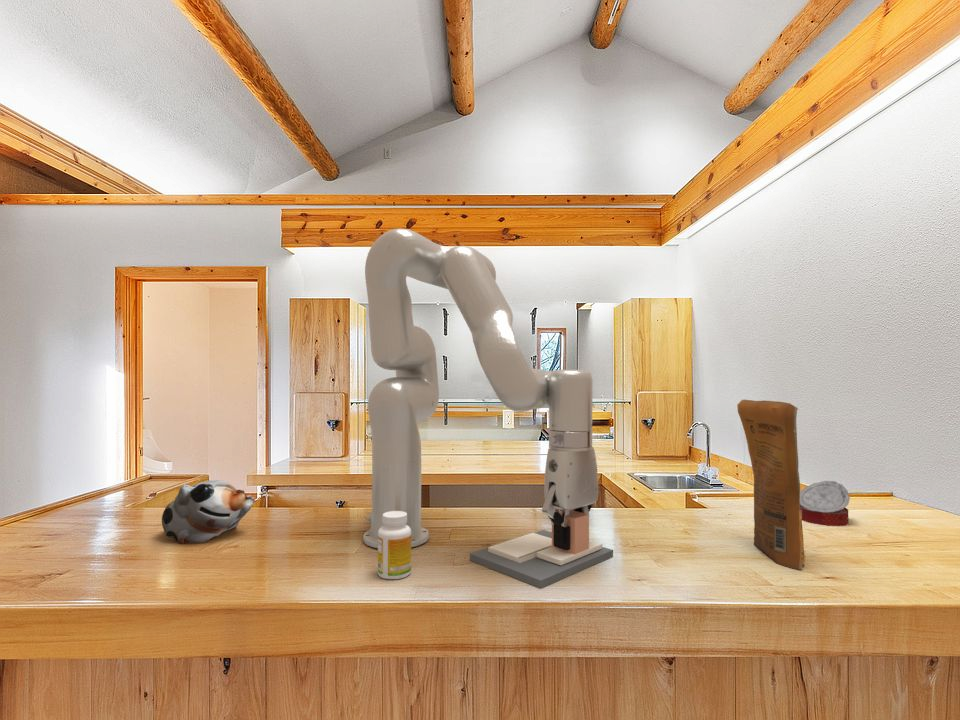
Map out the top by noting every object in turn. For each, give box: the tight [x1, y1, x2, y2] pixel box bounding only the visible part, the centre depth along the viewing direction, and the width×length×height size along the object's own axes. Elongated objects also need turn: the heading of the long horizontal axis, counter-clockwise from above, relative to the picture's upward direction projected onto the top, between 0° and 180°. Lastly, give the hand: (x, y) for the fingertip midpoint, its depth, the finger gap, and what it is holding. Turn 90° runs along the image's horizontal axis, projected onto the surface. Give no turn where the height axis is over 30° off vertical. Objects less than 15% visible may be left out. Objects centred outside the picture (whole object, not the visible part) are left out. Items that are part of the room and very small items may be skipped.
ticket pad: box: [469, 529, 614, 589], centre depth 93 cm, size 16×20×2 cm
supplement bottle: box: [377, 511, 412, 580], centre depth 86 cm, size 5×5×10 cm
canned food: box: [800, 480, 851, 527], centre depth 118 cm, size 11×10×10 cm
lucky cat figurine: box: [161, 480, 256, 544], centre depth 105 cm, size 15×12×14 cm
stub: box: [536, 510, 603, 565], centre depth 92 cm, size 5×12×7 cm, turn 134°
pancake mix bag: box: [736, 398, 806, 570], centre depth 96 cm, size 7×19×28 cm, turn 173°
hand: (570, 543), depth 92 cm, fingers closed on stub, 4 cm apart
